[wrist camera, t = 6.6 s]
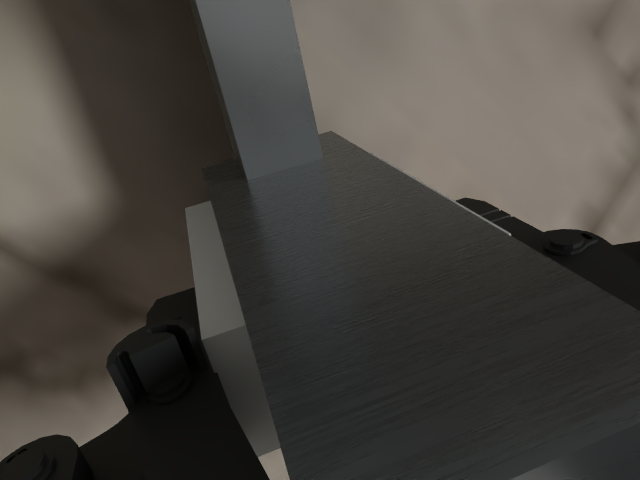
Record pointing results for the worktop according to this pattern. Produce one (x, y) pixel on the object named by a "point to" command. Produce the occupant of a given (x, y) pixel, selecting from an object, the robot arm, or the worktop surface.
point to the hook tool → (400, 300)
